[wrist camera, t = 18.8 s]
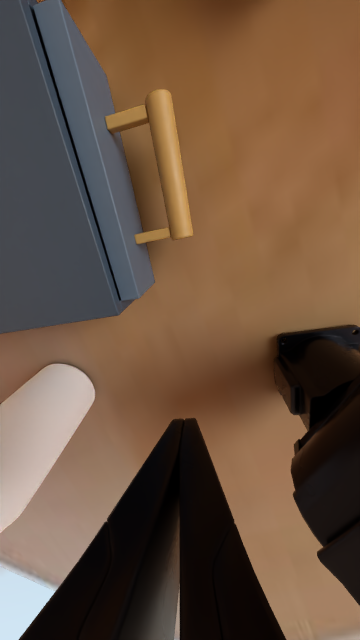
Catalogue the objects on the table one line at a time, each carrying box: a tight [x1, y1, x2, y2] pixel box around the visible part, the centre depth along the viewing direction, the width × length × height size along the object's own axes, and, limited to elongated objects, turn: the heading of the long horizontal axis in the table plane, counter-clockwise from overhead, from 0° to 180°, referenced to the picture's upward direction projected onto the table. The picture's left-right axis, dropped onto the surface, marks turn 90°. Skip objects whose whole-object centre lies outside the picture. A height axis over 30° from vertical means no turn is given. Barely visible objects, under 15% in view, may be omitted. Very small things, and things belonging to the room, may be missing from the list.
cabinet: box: [0, 0, 135, 334], centre depth 14 cm, size 14×14×6 cm
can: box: [0, 364, 95, 533], centre depth 18 cm, size 6×6×12 cm
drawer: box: [33, 0, 193, 301], centre depth 14 cm, size 17×13×5 cm
